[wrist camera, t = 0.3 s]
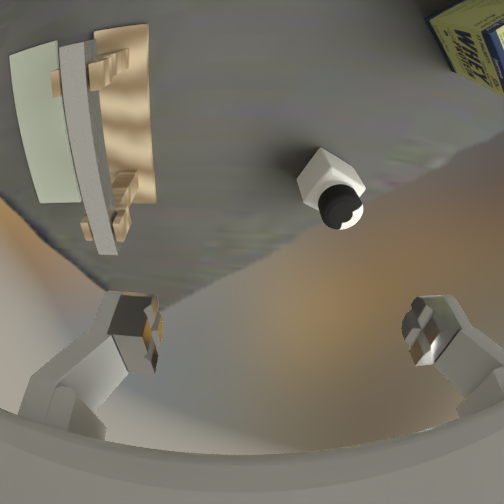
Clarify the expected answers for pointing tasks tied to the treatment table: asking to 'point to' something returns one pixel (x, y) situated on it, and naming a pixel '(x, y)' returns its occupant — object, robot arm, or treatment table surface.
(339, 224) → the medicine bottle
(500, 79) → the protein box
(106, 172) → the aluminium rail
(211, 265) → the treatment table surface
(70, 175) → the sage mat
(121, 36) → the hook rack
